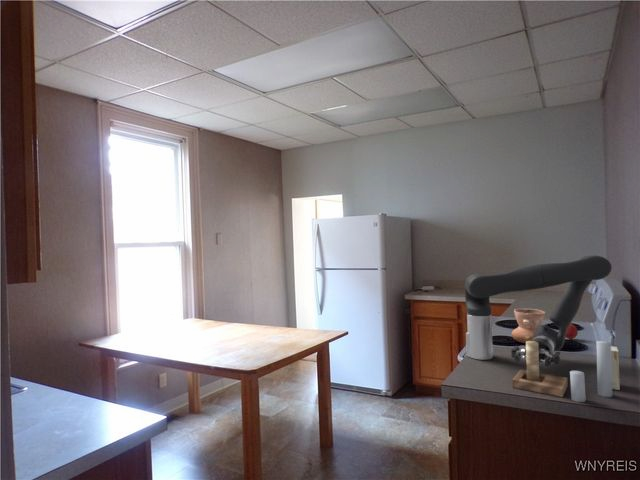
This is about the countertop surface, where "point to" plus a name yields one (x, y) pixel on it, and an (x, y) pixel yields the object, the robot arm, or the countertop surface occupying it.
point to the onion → (571, 332)
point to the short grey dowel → (577, 386)
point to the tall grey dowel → (604, 368)
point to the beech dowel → (532, 360)
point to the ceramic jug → (527, 323)
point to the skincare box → (615, 368)
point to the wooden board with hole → (541, 383)
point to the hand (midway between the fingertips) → (531, 360)
